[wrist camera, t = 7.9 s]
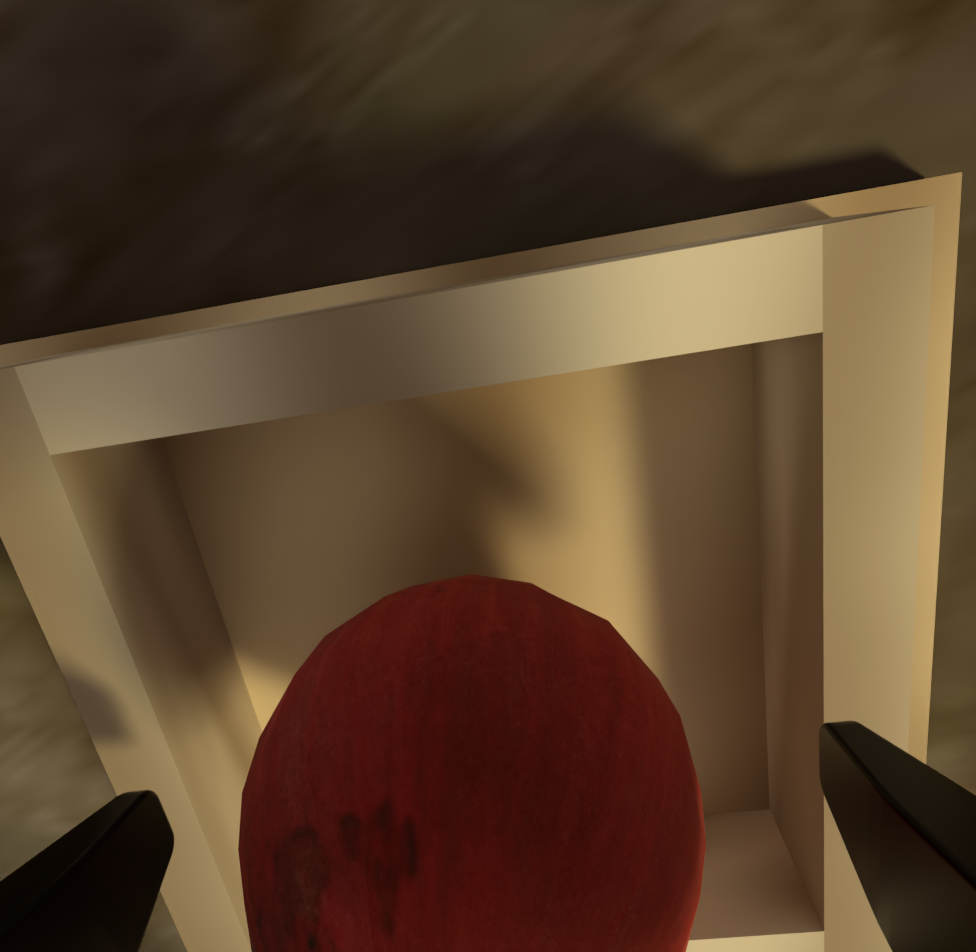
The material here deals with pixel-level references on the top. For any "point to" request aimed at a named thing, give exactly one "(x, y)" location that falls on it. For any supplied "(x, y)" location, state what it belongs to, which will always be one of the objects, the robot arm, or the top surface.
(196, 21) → the top surface
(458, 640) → the onion
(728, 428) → the tray
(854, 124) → the top surface
